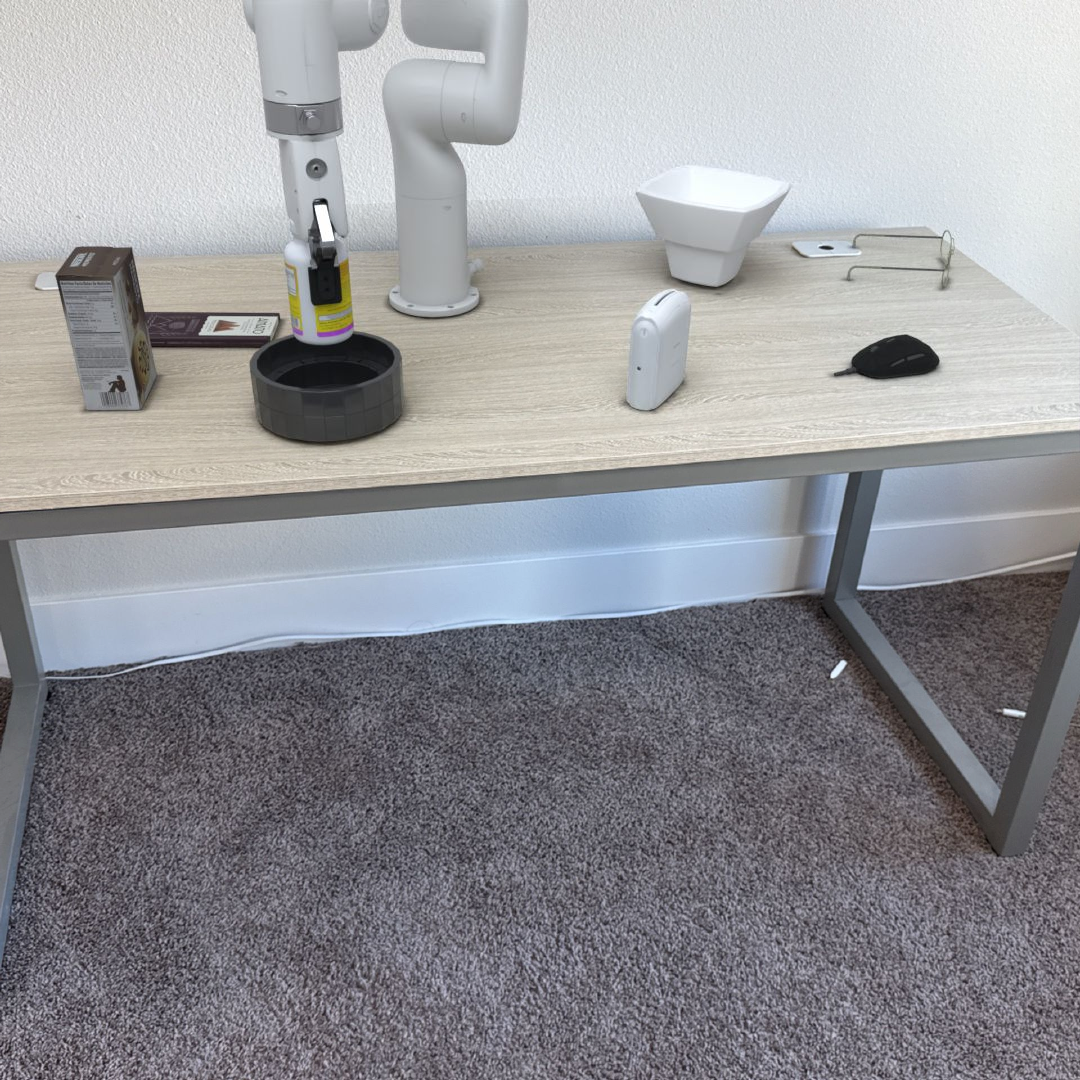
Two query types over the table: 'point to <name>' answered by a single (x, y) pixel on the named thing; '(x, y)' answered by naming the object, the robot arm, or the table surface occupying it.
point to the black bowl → (327, 387)
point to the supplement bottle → (306, 318)
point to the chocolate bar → (211, 328)
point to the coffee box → (107, 327)
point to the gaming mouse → (894, 358)
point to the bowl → (709, 218)
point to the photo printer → (658, 349)
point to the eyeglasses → (908, 268)
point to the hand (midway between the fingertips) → (319, 289)
